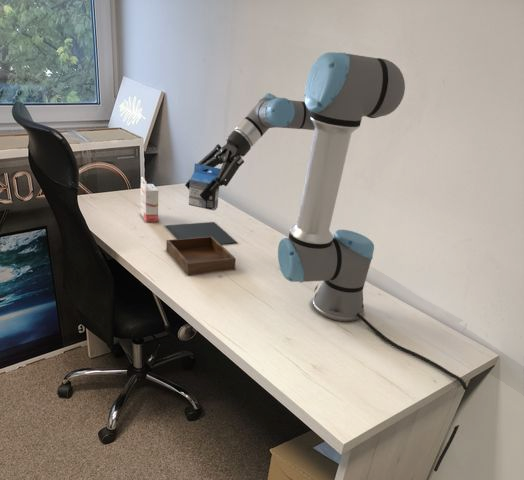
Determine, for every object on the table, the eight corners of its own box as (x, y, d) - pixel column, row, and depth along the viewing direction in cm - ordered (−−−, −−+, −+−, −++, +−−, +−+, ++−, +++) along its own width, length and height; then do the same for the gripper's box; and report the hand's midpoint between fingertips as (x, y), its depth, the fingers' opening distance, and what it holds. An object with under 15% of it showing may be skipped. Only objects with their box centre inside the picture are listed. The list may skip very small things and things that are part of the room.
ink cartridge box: (158, 221, 182) (159, 182, 174) (145, 222, 180) (145, 182, 172) (153, 213, 188) (153, 175, 180) (140, 214, 186) (139, 175, 178)
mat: (236, 243, 175) (237, 242, 175) (185, 248, 166) (185, 247, 166) (213, 222, 189) (213, 222, 189) (165, 226, 179) (165, 225, 179)
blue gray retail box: (187, 205, 154) (189, 165, 147) (192, 202, 157) (194, 163, 150) (214, 211, 153) (217, 171, 146) (218, 207, 156) (221, 168, 149)
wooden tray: (234, 269, 157) (235, 258, 155) (187, 275, 149) (188, 263, 147) (211, 246, 170) (211, 236, 168) (166, 250, 162) (166, 239, 160)
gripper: (268, 157, 146) (219, 212, 147) (231, 138, 159) (186, 189, 160) (256, 138, 140) (205, 196, 141) (218, 121, 154) (172, 174, 154)
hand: (195, 193), depth 150 cm, fingers closed on blue gray retail box, 9 cm apart
